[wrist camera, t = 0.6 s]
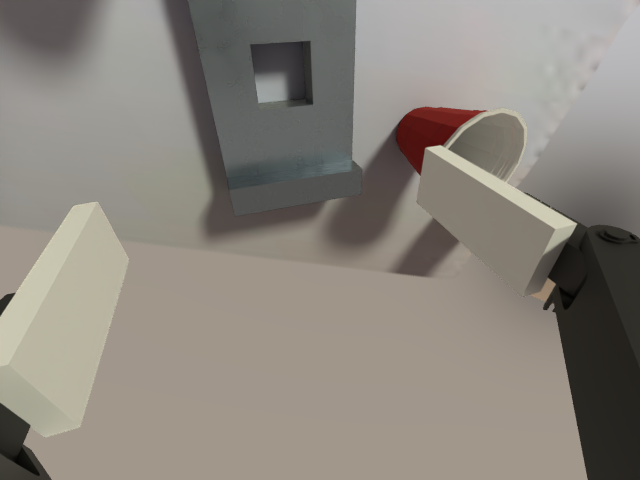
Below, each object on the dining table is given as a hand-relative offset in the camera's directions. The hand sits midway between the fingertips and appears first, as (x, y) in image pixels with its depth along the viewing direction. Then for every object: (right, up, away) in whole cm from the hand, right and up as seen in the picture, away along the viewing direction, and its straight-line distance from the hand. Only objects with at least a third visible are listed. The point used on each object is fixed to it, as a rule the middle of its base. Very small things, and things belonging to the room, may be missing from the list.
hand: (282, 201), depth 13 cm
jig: (-3, +15, +18) cm, 24 cm away
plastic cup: (+14, +12, +27) cm, 33 cm away
